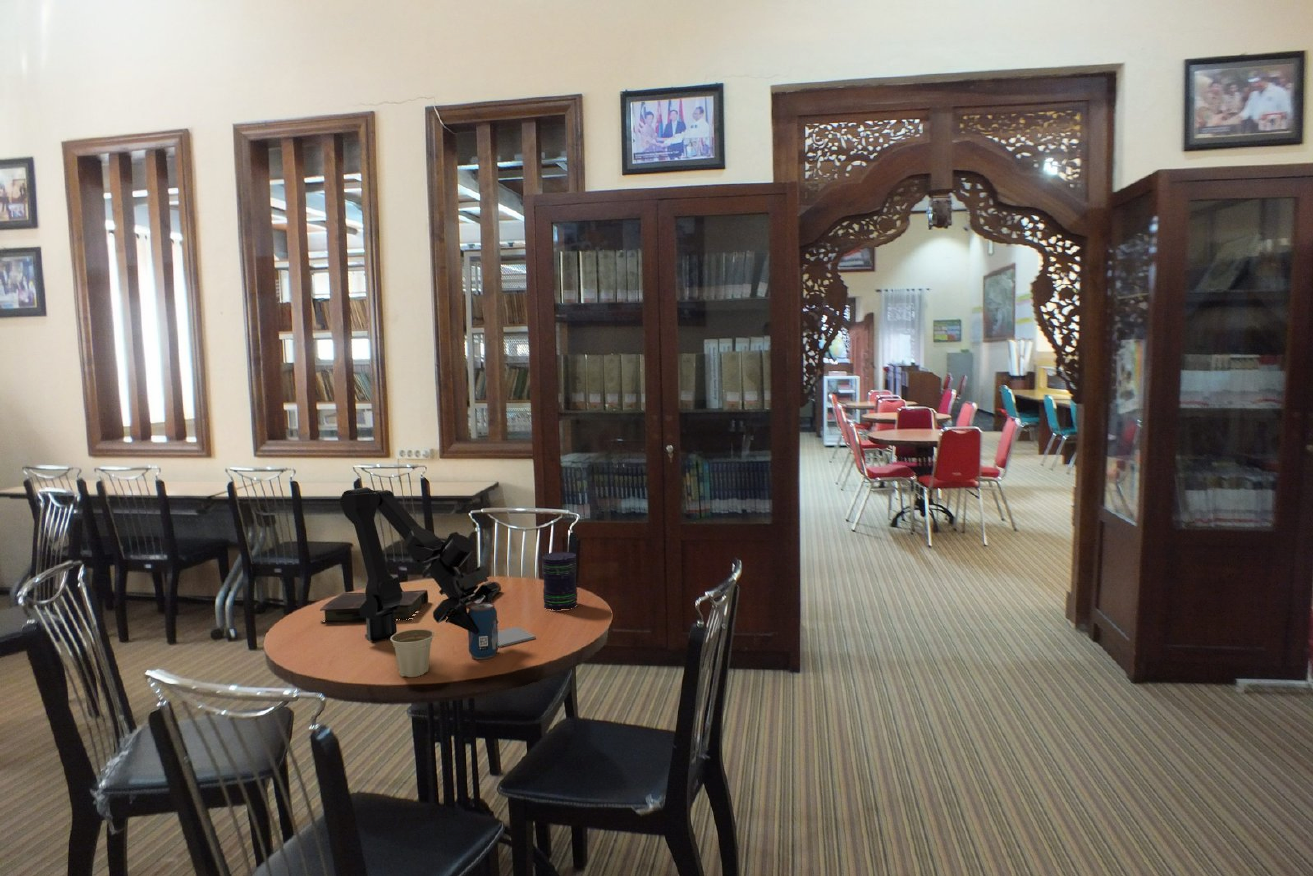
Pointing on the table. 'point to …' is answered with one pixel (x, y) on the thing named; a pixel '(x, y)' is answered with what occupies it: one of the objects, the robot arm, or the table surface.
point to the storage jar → (559, 580)
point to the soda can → (483, 631)
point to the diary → (349, 603)
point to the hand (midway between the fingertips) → (487, 628)
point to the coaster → (513, 636)
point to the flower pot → (412, 651)
